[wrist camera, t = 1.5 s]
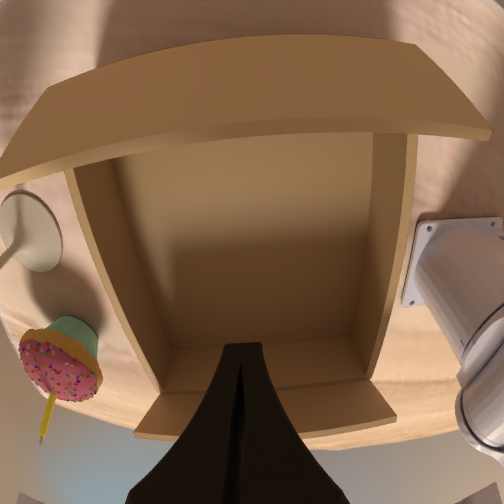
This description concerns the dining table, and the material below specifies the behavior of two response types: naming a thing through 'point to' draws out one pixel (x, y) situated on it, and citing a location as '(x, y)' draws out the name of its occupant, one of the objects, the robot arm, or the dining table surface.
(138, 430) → the flap
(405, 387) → the dining table surface
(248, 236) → the carton
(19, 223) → the wineglass
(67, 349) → the cupcake
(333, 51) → the flap
